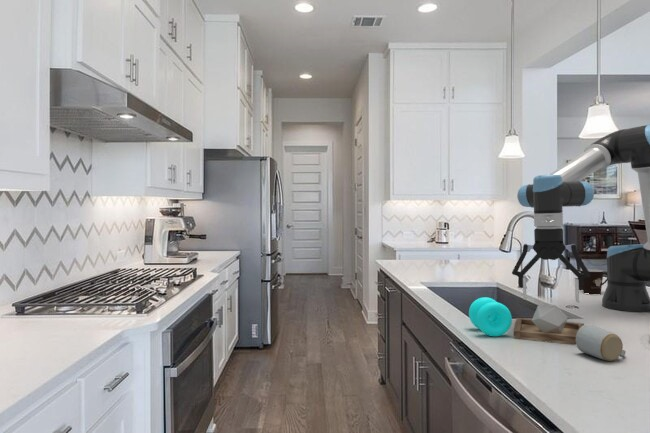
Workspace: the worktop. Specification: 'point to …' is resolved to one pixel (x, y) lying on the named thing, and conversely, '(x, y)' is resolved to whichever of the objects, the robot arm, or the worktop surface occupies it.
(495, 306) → the donuts
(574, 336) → the tray
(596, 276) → the coffee mug
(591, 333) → the ceramic mug
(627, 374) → the worktop surface
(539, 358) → the worktop surface
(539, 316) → the die
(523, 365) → the worktop surface
